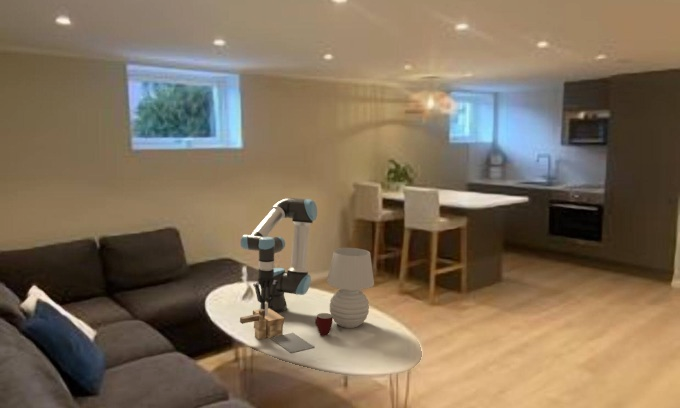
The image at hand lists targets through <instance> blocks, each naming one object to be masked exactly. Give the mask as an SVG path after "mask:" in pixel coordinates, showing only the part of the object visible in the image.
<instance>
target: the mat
mask: <svg viewBox="0 0 680 408" xmlns="http://www.w3.org/2000/svg"><path fill="white" fill-rule="evenodd" d="M270 339H271V340H272V341H273V342H275V343H276V344H277V345H278V346H280V347H282V348H283V349H285V350H286V351H287V352H288V353H290V354H294V353H297V352H301V351H305V350H309V349H313V348H315V345H313V344H312V343H310V342H308V341H306V340H305V339H304V338H302V337H300V335H298V334H297V333H294V332H291V333H286V334H283V335H279V336H275V337H270Z"/></svg>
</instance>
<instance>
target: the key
mask: <svg viewBox="0 0 680 408" xmlns="http://www.w3.org/2000/svg"><path fill="white" fill-rule="evenodd" d="M259 316H263V320H264V319H265V311H263V310H260V311H259V314H255V315H253V314H251V315H244V316H240V317H239V322H240V324H247V323H252V322H253V323H254V321H258V320H259Z"/></svg>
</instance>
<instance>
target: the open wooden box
mask: <svg viewBox="0 0 680 408" xmlns="http://www.w3.org/2000/svg"><path fill="white" fill-rule="evenodd" d="M255 314H259V313H255ZM253 328H254V338H256V339H257V340H262V339H266V338H268V339H269V338H271V337H276V336H280V335H284V334H283V333H284V329H283V328H284V324H280V325H275V326H270V327H268V326H266V319H264V320H263V316H259V320H258V321H253Z"/></svg>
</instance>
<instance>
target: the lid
mask: <svg viewBox="0 0 680 408" xmlns="http://www.w3.org/2000/svg"><path fill="white" fill-rule="evenodd" d="M260 310H263V309H260V308H259V309H255V310H253V311H252V315H255V313H259V311H260ZM265 319H266V326H268V327H270V326H275V325H280V324H283V325H284V324H285V317H284V316H282V315H280V314H279V312H274V311H273V310H271V309H270V308H268V316H265Z"/></svg>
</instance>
